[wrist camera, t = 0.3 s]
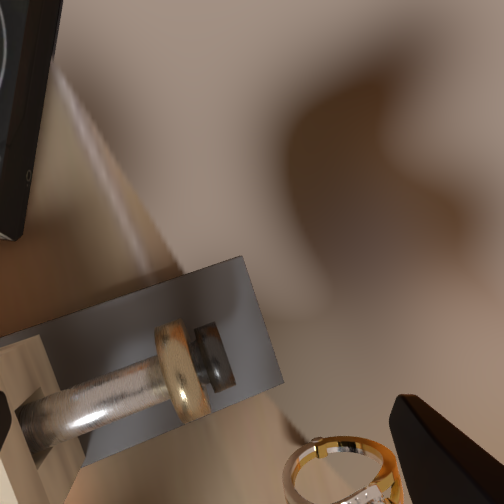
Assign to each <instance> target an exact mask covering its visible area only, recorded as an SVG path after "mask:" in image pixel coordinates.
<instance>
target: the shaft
mask: <svg viewBox="0 0 504 504" xmlns="http://www.w3.org/2000/svg"><path fill="white" fill-rule="evenodd" d="M194 333H195V337H196V340H194V341H192V342H191V339H190V337H189V334H188V332H187V329H186V327H185V325H184V322H183V321H182V319H181V318H180V319H177V320H174V321H172V322H169V323H166V324H163V325H161V326H158V327H155V329H154V338H155V345H156V351H157V355H155V356H152V357H149V358H147V359H144V360H141V361H139V362H136V363H133V364H131V365H128V366H125V367H123V368H120V369H117V370H115V371H112V372H109V373H107V374H104V375H101V376H99V377H96V378H94V379H91V380H88V381H86V382H83V383H80V384H78V385H75V386H72V387H70V388H67V389H64V390H62V391H59V392H56V393H54V394H51V395H48V396H46V397H43V398H41V399H38V400H35V401H33V402H30V403H27V404H25V405H22V406H19V407H18V408H17V409H16V410H15V411H14V412H15V414H16V417H17V419H18V422H19V425H20V427H21V430H22V432H23V435H24V437H25V440H26V443H27V445H28V448H29V450H30V453H31V455H33V454H35V453H38V452H40V451H42V450H45V449H47V448H50V447H52V446H55V445H57V444H60V443H62V442H65V441H67V440H70V439H72V438H75V437H77V436H80V435H82V434H85V433H87V432H90V431H92V430H95V429H97V428H100V427H102V426H105V425H107V424H110V423H112V422H115V421H117V420H120V419H122V418H125V417H127V416H129V415H132V414H134V413H137V412H139V411H142V410H144V409H147V408H149V407H152V406H154V405H157V404H159V403H162V402H164V401H167V400H169V399H171V401H172V404H173V406H174V408H175V411H176V413H177V415H178V417H179V419H180V420H181V422H182V423H183V424H186V423H188V422H191V421H193V420H196V419H198V418H200V417H203V416H205V415H208V414H210V413H211V405H210V400H209V396H208V393H207V389H206V385H207V384H209V383H211V385H212V388H213V390H214V393H215V394H216V393H218V392H221V391H223V390H226V389H228V388H231V387H233V386H235V385H237V384H236V381H235V378H234V375H233V372H232V369H231V366H230V363H229V360H228V357H227V354H226V351H225V348H224V346H223V343H222V340H221V337H220V334H219V331H218V329H217V326H216V323H215V321H214V322H211V323H208V324H206V325H203V326H200V327H198V328H195V329H194Z"/></svg>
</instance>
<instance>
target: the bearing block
mask: <svg viewBox="0 0 504 504" xmlns="http://www.w3.org/2000/svg"><path fill="white" fill-rule="evenodd" d="M180 318H181V319H182V321H183V322H184V325H185V327H186V329H187V332H188V334H189V337H190V339H191V342H192V341H194V340H196V337H195V333H194V329H195V328H198V327H200V326H203V325H206V324H208V323H211V322H214V321H215V323H216V326H217V329H218V331H219V334H220V337H221V340H222V343H223V346H224V348H225V351H226V354H227V357H228V360H229V363H230V366H231V369H232V372H233V375H234V378H235V381H236V384H237V385H235V386H233V387H231V388H228V389H226V390H223V391H221V392H218V393H216V394H215V393H214V390H213V388H212V385H211V383H209V384H207V385H206V389H207V393H208V396H209V400H210V405H211V413H214V412H216V411H218V410H221V409H223V408H226V407H228V406H230V405H233V404H235V403H237V402H240V401H242V400H245V399H247V398H249V397H252V396H254V395H257V394H259V393H261V392H264V391H266V390H269V389H271V388H273V387H276V386H278V385H280V384H283V383H284V380H283V377H282V374H281V371H280V368H279V366H278V363H277V359H276V356H275V353H274V350H273V347H272V344H271V341H270V338H269V335H268V332H267V329H266V326H265V323H264V320H263V317H262V314H261V311H260V308H259V305H258V302H257V299H256V296H255V293H254V290H253V287H252V284H251V281H250V278H249V275H248V272H247V268H246V265H245V263H244V260H243V257H242V256H238V257H235V258H232V259H229V260H226V261H223V262H220V263H217V264H214V265H211V266H208V267H206V268H203V269H200V270H197V271H194V272H191V273H188V274H185V275H182V276H179V277H176V278H173V279H170V280H167V281H164V282H162V283H159V284H156V285H153V286H150V287H147V288H144V289H141V290H138V291H135V292H132V293H129V294H126V295H123V296H121V297H118V298H115V299H112V300H109V301H106V302H103V303H100V304H97V305H94V306H91V307H88V308H85V309H82V310H80V311H77V312H74V313H71V314H68V315H65V316H62V317H59V318H56V319H53V320H50V321H47V322H44V323H41V324H39V325H36V326H33V327H30V328H27V329H24V330H21V331H18V332H15V333H12V334H9V335H6V336H3V337H1V338H0V391H3V392H4V393H5V395H6V398H7V401H8V405H9V408H10V412H11V415H12V423H11V427H10V430H9V432H8V434H7V437H6V439H5V442H4V444H3V446H2V449H1V451H0V504H63V503H64V501H65V499H66V497H67V495H68V493H69V491H70V489H71V487H72V485H73V483H74V480H75V478H76V476H77V474H78V472H79V470H80V468H82V467H84V466H87V465H89V464H92V463H94V462H96V461H99V460H101V459H104V458H106V457H108V456H111V455H113V454H116V453H118V452H120V451H123V450H125V449H127V448H130V447H132V446H135V445H137V444H139V443H142V442H144V441H147V440H149V439H151V438H154V437H156V436H159V435H161V434H163V433H166V432H168V431H171V430H173V429H175V428H178V427H180V426H182V425H185V424H183V423H182V422H181V420H180V419H179V417H178V415H177V413H176V411H175V408H174V406H173V404H172V401H171V399H169V400H167V401H164V402H162V403H159V404H157V405H154V406H152V407H149V408H147V409H144V410H142V411H139V412H137V413H134V414H132V415H129V416H127V417H125V418H122V419H120V420H117V421H115V422H112V423H110V424H107V425H105V426H102V427H100V428H97V429H95V430H92V431H90V432H87V433H85V434H82V435H80V436H77V437H75V438H72V439H70V440H67V441H65V442H62V443H60V444H57V445H55V446H52V447H50V448H47V449H45V450H42V451H40V452H38V453H35V454H33V455H31V453H30V450H29V448H28V445H27V443H26V440H25V437H24V435H23V432H22V430H21V427H20V425H19V422H18V419H17V417H16V414H15V412H14V411H15V410H16V409H17V408H18V407H19V406H22V405H25V404H27V403H30V402H33V401H35V400H38V399H41V398H43V397H46V396H48V395H51V394H54V393H56V392H59V391H62V390H64V389H67V388H70V387H72V386H75V385H78V384H80V383H83V382H86V381H88V380H91V379H94V378H96V377H99V376H101V375H104V374H107V373H109V372H112V371H115V370H117V369H120V368H123V367H125V366H128V365H131V364H133V363H136V362H139V361H141V360H144V359H147V358H149V357H152V356H155V355H157V351H156V345H155V338H154V329H155V327H158V326H161V325H163V324H166V323H169V322H172V321H174V320H177V319H180ZM211 413H210V414H211ZM208 415H209V414H208ZM205 416H206V415H205ZM203 417H204V416H203ZM200 418H202V417H200ZM198 419H199V418H198ZM196 420H197V419H196ZM193 421H194V420H193ZM191 422H192V421H191ZM188 423H190V422H188ZM186 424H187V423H186Z"/></svg>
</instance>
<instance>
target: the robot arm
mask: <svg viewBox="0 0 504 504" xmlns="http://www.w3.org/2000/svg"><path fill="white" fill-rule="evenodd" d="M11 423H12V415H11V412H10V408H9V405H8V401H7V398H6V395H5V393H4V392H3V391H0V451H1V449H2V446H3V444H4V442H5V439H6V437H7V434H8V432H9V430H10V427H11ZM389 427H390V431H391V434H392V437H393V441H394V444H395V448H396V451H397V455H398V458H399V462H400V465H401V468H402V472H403V475H404V479H405V482H406V486H407V489H408V492H409V495H410V498H411V500H412V503H413V504H504V465H503V464H501V463H500V462H499V461H497V460H496V459H495V458H494V457H493V456H491V455H490V454H489V453H488V452H486V451H485V450H484V449H483V448H481V447H480V446H479V445H477V444H476V443H475V442H474V441H473V440H472V439H470V438H469V437H468V436H467V435H465V434H464V433H463V432H462V431H460V430H459V429H458V428H456V427H455V426H454V425H453V424H452V423H450V422H449V421H448V420H447V419H445V418H444V417H443V416H442V415H441V414H439V413H438V412H437V411H436V410H434V409H433V408H432V407H431V406H429V405H428V404H427V403H426V402H424V401H423V400H422V399H420V398H419V397H418V396H416V395H413V394H400V395H398V396H397V398H396V400H395V403H394V406H393V408H392V411H391V414H390V417H389Z"/></svg>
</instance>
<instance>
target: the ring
mask: <svg viewBox="0 0 504 504" xmlns="http://www.w3.org/2000/svg"><path fill="white" fill-rule="evenodd" d="M311 441H312V442H310V443H307V444H305V445H303V446H302V447H300V448H299V449H297V450H296V451H295V452H294V453H293V454H292V455H291V456H290V457H289V459H288V460H287V462H286V464H285V466H284V469H283V474H282V481H283V489H284V494H285V499H286V503H287V504H314V503H312V502H310V501H308V500H306V499H305V498H303V497H302V496H301V495H300V494H299V493H298V492H297V491H296V489H295V479H296V476H297V474H298V472H299V470H300V469H301V468H302V466H303V465H304V464H306V463H307V462H308V461H310V460H311V459H313V458H315V457H317V458H324V457H326V456H327V455H328V453H332V452H354V453H358V454H363V455H365V456H367V457H370V458H372V459H373V460H375V461H377V462H378V463H379V464H380V465H381V466H382V468H381V470H380V471H379V473H378V474H377V476H376V477H375V478H374V480H373V481H372V482H371V483H370V484H369V485H368V486H366V487H363V488H361V489H359V490H358V491H356V492H354V493H353V494H351V495H349V496H348V497H346V498H344V499H342V500H340V501H337V502H335V503H332V504H404V493H403V487H402V481H401V477H400V473H399V471H398V467H397V461H396V457H395V455H394V454H393V453H392V451H391V450H389V449H388V448H387V447H385V446H383V445H382V444H380V443H377V442H375V441H372V440H369V439H365V438H360V437H352V436H337V437H328V438H322V437H317V438H314V439H312V440H311ZM390 486H392V487H391V495H390V499H389V498H385V499H384V501H383V500H382V498H383V494H382V492H384V491H385V490H387V489H388V488H389V487H390Z"/></svg>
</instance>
